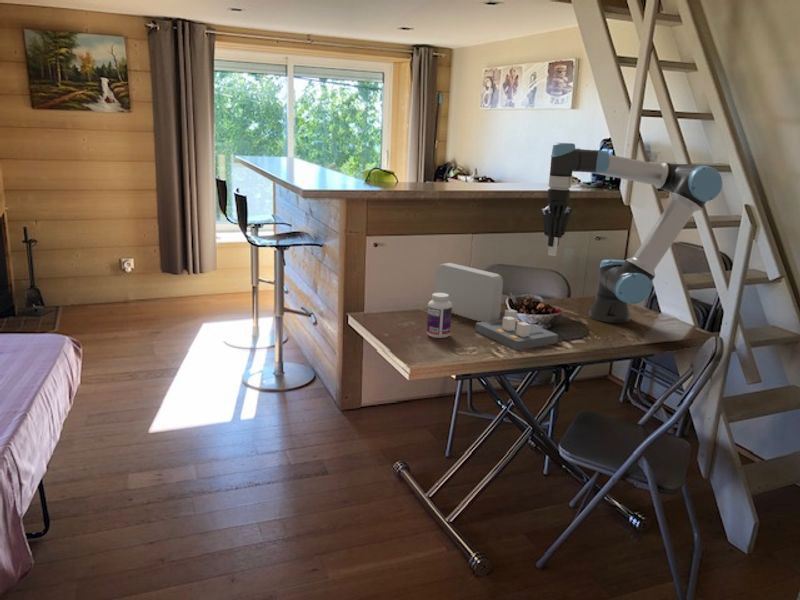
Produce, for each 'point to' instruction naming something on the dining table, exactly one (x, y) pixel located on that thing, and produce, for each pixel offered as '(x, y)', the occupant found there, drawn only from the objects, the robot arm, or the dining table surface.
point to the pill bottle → (439, 316)
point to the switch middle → (508, 323)
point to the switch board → (515, 341)
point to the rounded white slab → (470, 291)
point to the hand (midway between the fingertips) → (552, 255)
